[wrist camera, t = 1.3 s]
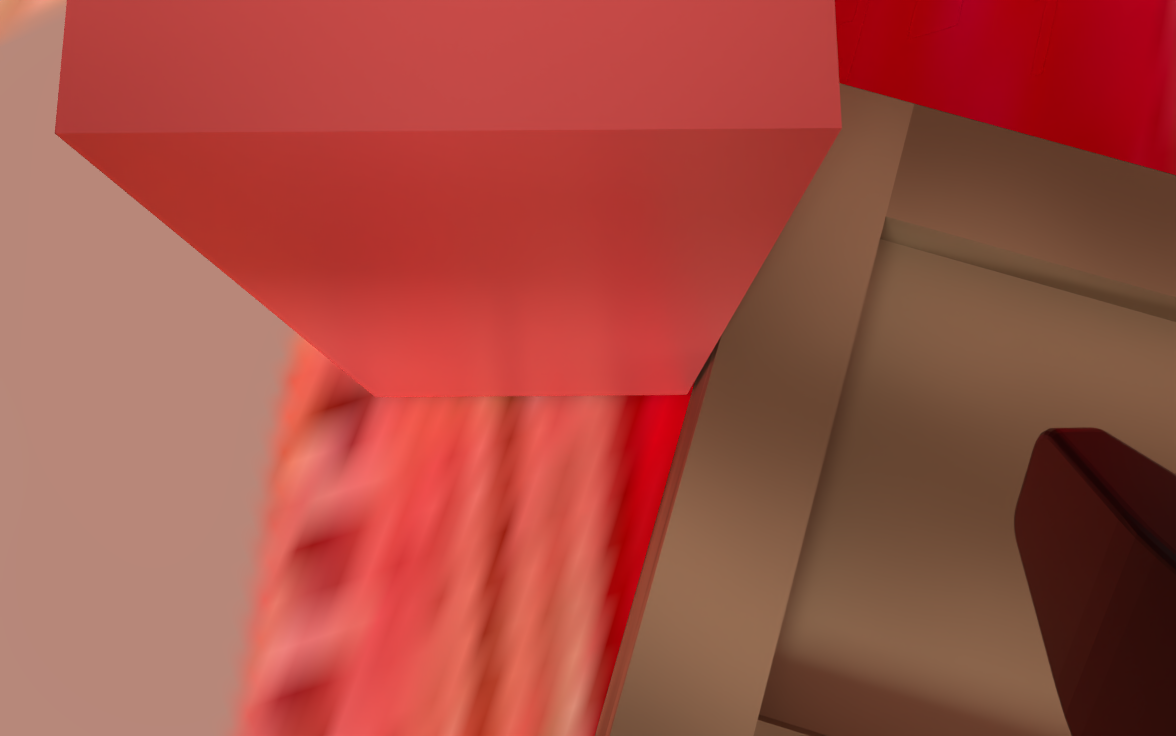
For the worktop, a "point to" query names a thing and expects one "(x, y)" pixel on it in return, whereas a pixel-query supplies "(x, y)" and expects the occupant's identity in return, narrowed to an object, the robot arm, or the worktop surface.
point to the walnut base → (898, 437)
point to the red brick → (468, 170)
